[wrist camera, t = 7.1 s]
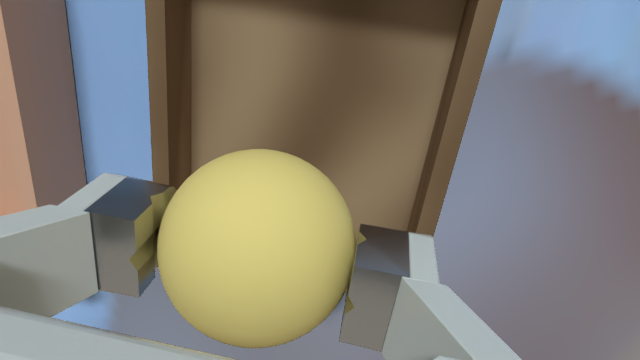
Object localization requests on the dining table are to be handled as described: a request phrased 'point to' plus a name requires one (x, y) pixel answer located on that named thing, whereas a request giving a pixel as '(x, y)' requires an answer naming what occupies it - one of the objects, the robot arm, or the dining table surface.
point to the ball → (256, 248)
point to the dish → (37, 107)
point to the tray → (321, 92)
